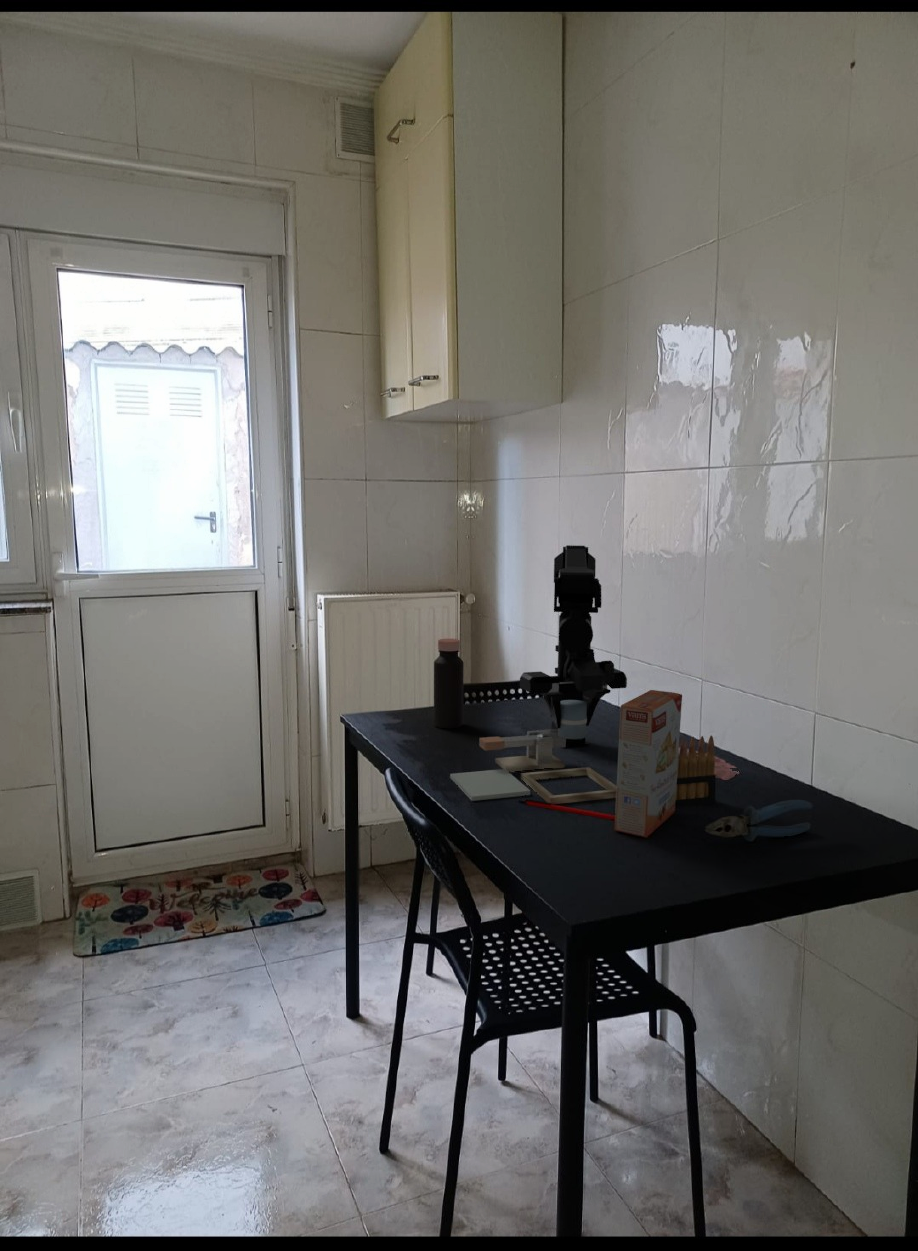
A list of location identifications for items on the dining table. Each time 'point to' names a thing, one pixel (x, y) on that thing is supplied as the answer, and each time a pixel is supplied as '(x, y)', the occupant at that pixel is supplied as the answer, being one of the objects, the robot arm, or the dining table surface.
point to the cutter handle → (521, 740)
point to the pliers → (751, 817)
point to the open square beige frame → (575, 797)
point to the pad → (489, 784)
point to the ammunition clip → (696, 774)
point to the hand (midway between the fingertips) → (572, 726)
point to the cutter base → (533, 757)
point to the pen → (566, 809)
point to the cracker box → (647, 762)
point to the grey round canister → (573, 719)
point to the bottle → (448, 685)
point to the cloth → (719, 767)
